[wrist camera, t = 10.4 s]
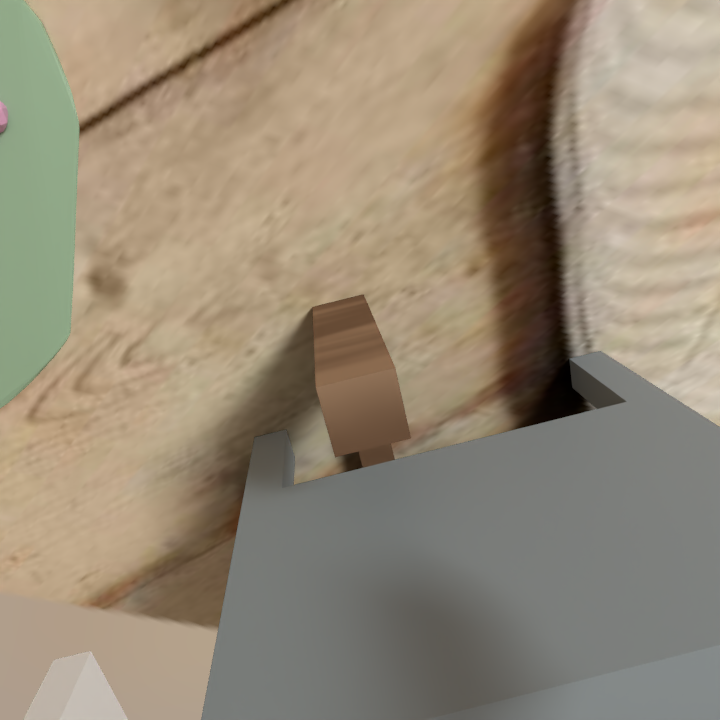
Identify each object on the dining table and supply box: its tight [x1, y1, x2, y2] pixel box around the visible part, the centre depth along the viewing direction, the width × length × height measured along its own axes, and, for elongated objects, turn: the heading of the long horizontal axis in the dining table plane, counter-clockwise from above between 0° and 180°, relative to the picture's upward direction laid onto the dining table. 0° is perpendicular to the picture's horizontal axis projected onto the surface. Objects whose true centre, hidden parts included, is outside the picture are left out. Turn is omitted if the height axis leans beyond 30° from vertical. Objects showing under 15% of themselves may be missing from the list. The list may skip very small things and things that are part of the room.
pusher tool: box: [312, 295, 411, 468], centre depth 29 cm, size 18×6×12 cm, turn 13°
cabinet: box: [201, 351, 720, 720], centre depth 26 cm, size 22×11×20 cm, turn 103°
